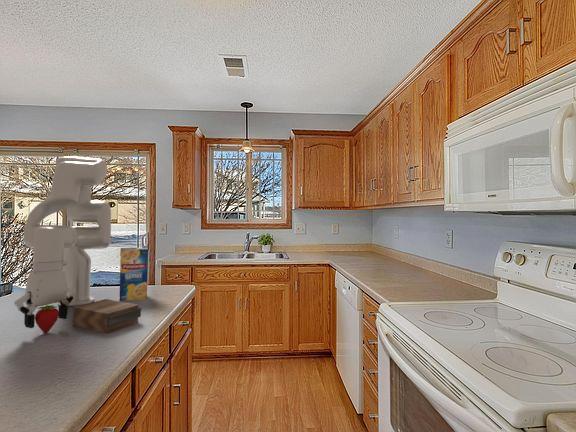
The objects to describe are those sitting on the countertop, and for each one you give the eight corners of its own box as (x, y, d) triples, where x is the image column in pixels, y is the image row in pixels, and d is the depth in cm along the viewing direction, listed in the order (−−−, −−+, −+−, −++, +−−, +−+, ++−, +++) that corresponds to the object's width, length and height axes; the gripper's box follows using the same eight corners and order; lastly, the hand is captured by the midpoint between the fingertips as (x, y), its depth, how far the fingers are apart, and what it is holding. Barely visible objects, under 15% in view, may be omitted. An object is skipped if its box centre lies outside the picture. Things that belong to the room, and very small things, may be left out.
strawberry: (60, 328, 105) (61, 296, 105) (56, 335, 98) (57, 302, 98) (37, 330, 102) (38, 298, 102) (31, 338, 95) (32, 304, 95)
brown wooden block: (72, 325, 107) (73, 307, 107) (105, 315, 118) (105, 299, 118) (109, 333, 101) (109, 314, 101) (140, 322, 112) (141, 305, 112)
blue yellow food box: (147, 298, 144) (148, 248, 144) (119, 301, 139) (120, 249, 139) (146, 295, 150) (147, 247, 150) (119, 297, 145) (120, 248, 145)
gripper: (68, 262, 110) (67, 313, 109) (7, 269, 94) (6, 329, 93) (83, 264, 107) (82, 316, 107) (23, 271, 91) (22, 333, 91)
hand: (46, 322), depth 100 cm, fingers open, 9 cm apart
